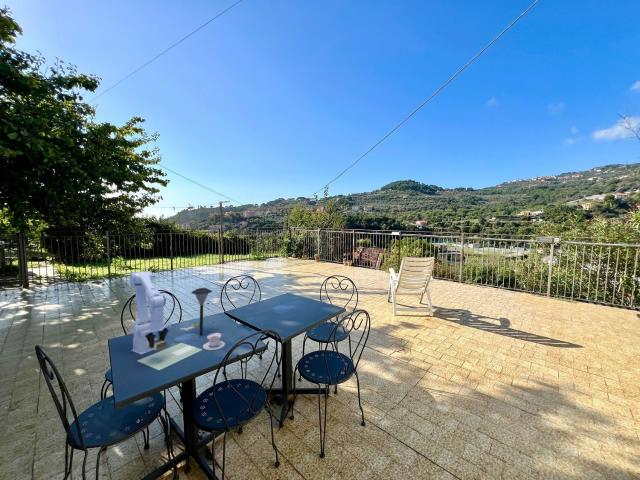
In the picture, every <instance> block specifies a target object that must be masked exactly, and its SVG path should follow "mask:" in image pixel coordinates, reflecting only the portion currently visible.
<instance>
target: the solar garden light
mask: <svg viewBox="0 0 640 480" xmlns="http://www.w3.org/2000/svg"><path fill="white" fill-rule="evenodd" d="M212 292H213V291H212V290H211V289H210V288H209V289H208V288H207V287H198V288H196V289H194V290H193V291H191V294H193V295H195V297H196V299H197V301H198V303H199V323H200V326H199V336H200V337H202V336H203V334H204V333H203V331H204V329H203V327H204V304H205V302H206V299H207V297H208V295H209V294H210V293H212Z"/></svg>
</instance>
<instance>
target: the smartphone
mask: <svg viewBox="0 0 640 480" xmlns="http://www.w3.org/2000/svg"><path fill="white" fill-rule="evenodd" d="M190 324H191V325H192V326H191V327H188V328H183V327H180V328H179V329H178V330H181V331H180V332H185V331H188V332H190V331H192V330H194V329H197V328H198V327H200V322H192V323H190Z"/></svg>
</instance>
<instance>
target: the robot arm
mask: <svg viewBox="0 0 640 480" xmlns="http://www.w3.org/2000/svg"><path fill="white" fill-rule="evenodd" d="M153 278H154V276H153V272H152V271H151V270H148V271H135V272H133V271H132V272H131V273H130V274H129V285H130V288H131V289H133V290H134V293H135V300H136V308H137V309H136V310H137V317H138V318H137V319H135V320H134V321H133V323H132V333H133V339H132V349H131V350H130V351H131V352H133V353H136V354H139V355H143V354H144V355H145V354H146V353H149V352H152V351H154V350H153V349H151V348H153V347H154V339H155V338H156V335H155V334H154V333H157V332H158V337H159V338H158V339H159V340H162V341H165V339H166V336H167V335H168V333H169V328H172V323H170V322H169V323H164V307H165V306H166V304H167V300H166V297H165V295H164V294H161V293H160V291H159V289H158V288H157V287H156V286H154V285H153V284H154V283H153ZM147 299H148V300H147ZM149 313H150V315H149ZM147 341H148V342H149V345H150V347H151V348H148V347H147Z"/></svg>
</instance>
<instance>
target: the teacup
mask: <svg viewBox="0 0 640 480" xmlns="http://www.w3.org/2000/svg"><path fill="white" fill-rule="evenodd" d="M206 338H207V340H208V342H206V343H204V344H203V346H202V348H203V349H204V350H207V351H216V350H220V349H222V348H224V347H225V345H226V342H224V341H222V340H221V338H222V333H219V332H214V333H210V334H208V335H207V336H206Z"/></svg>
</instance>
